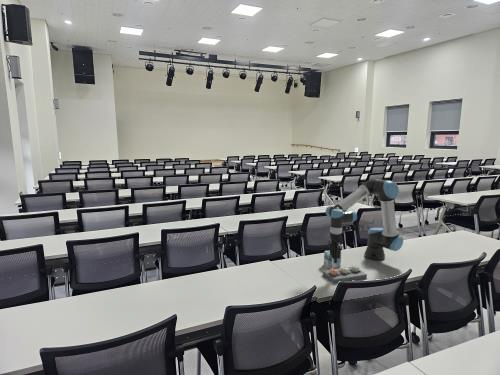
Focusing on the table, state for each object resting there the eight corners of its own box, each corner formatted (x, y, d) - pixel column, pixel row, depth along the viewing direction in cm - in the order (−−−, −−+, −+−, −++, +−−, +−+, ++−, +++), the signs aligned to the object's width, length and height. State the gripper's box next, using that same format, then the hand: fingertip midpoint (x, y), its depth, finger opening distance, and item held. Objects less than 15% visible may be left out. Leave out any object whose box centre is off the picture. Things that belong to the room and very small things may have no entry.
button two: (345, 270, 223) (345, 266, 223) (350, 273, 219) (350, 269, 218) (339, 271, 222) (339, 267, 221) (343, 274, 217) (344, 270, 217)
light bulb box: (327, 268, 235) (328, 254, 233) (323, 264, 241) (323, 250, 239) (340, 266, 237) (341, 252, 236) (336, 263, 244) (336, 249, 242)
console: (353, 270, 231) (353, 266, 231) (366, 278, 218) (366, 274, 218) (322, 275, 223) (323, 270, 223) (334, 283, 210) (334, 279, 210)
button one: (356, 269, 226) (356, 264, 225) (360, 272, 221) (360, 267, 221) (349, 270, 224) (350, 265, 224) (354, 273, 220) (354, 268, 219)
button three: (334, 272, 221) (335, 267, 220) (339, 275, 216) (339, 270, 215) (328, 273, 219) (328, 268, 218) (332, 276, 214) (332, 271, 214)
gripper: (325, 230, 218) (323, 264, 221) (336, 236, 205) (334, 271, 209) (335, 229, 220) (333, 262, 224) (346, 235, 208) (344, 270, 212)
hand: (334, 266), depth 217 cm, fingers closed
